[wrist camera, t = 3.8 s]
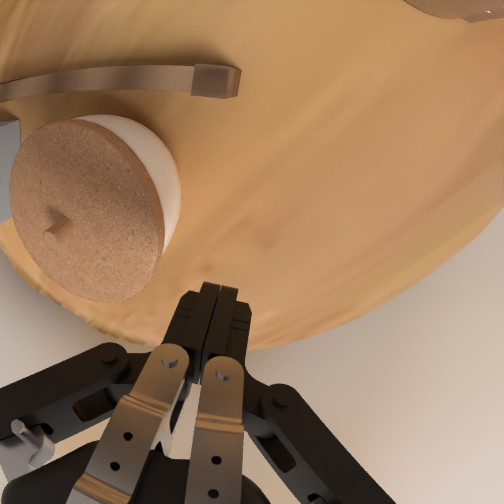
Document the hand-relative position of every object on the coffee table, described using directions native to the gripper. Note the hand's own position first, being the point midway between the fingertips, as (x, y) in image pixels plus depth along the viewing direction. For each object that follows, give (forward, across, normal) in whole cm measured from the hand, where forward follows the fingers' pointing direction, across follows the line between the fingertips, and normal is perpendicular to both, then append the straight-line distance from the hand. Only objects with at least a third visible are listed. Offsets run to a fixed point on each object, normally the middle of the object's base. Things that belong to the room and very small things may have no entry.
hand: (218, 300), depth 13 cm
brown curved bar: (+12, +14, -8) cm, 21 cm away
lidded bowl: (+13, +10, 0) cm, 16 cm away
